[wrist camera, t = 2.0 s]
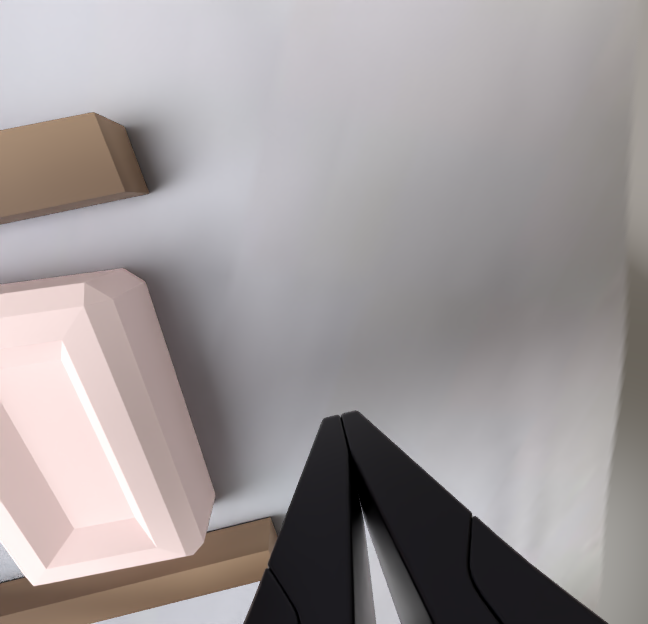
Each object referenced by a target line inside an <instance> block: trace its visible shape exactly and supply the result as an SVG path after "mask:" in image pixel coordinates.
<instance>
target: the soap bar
mask: <svg viewBox="0 0 648 624" xmlns="http://www.w3.org/2000/svg"><path fill="white" fill-rule="evenodd" d="M215 496H216V494H215V491H214V488H213V485H212V482H211V479H210V476H209V473H208V470H207V467H206V464H205V461H204V458H203V455H202V452H201V449H200V446H199V443H198V440H197V437H196V434H195V431H194V428H193V425H192V421H191V418H190V415H189V412H188V409H187V406H186V403H185V400H184V397H183V394H182V391H181V388H180V385H179V382H178V379H177V376H176V373H175V370H174V367H173V364H172V361H171V358H170V355H169V352H168V349H167V346H166V342H165V339H164V336H163V333H162V330H161V327H160V324H159V321H158V318H157V315H156V312H155V309H154V306H153V303H152V300H151V297H150V294H149V291H148V288H147V285H146V282H145V281H144V280H142V279H140V278H139V277H137V276H136V275H134V274H132V273H131V272H129V271H127V270H126V269H124V268H119V269H111V270H104V271H96V272H89V273H81V274H74V275H66V276H59V277H51V278H44V279H36V280H29V281H21V282H13V283H6V284H0V542H1V543H2V544H3V546H4V547H5V549H6V550H7V551H8V553H9V554H10V556H11V557H12V558H13V560H14V561H15V563H16V564H17V566H18V567H19V568H20V570H21V571H22V573H23V574H24V575H25V577H26V578H27V579H28V580H29V581H30V583H31V584H32V585H33V586H37V585H43V584H49V583H54V582H59V581H64V580H69V579H74V578H79V577H84V576H89V575H94V574H99V573H104V572H109V571H114V570H119V569H124V568H129V567H135V566H140V565H145V564H150V563H155V562H160V561H165V560H170V559H175V558H180V557H185V556H190V555H194V553H195V552H196V551H197V550H198V549H199V548H200V547H201V545H202V544H203V543H204V540H205V536H206V532H207V528H208V524H209V520H210V516H211V512H212V508H213V504H214V500H215Z"/></svg>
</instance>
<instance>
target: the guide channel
mask: <svg viewBox="0 0 648 624" xmlns="http://www.w3.org/2000/svg"><path fill="white" fill-rule="evenodd" d="M145 194H149V191H148V188H147V186H146V183H145V180H144V178H143V175H142V172H141V170H140V167H139V164H138V162H137V159H136V156H135V153H134V151H133V148H132V145H131V143H130V140H129V137H128V135H127V132H126V129H125V127H124V126H122V125H120V124H118V123H116V122H113V121H111V120H109V119H107V118H105V117H103V116H101V115H99V114H97V113H94V112H92V113H86V114H81V115H76V116H71V117H66V118H61V119H56V120H51V121H46V122H41V123H36V124H31V125H26V126H20V127H15V128H10V129H5V130H0V224H5V223H10V222H15V221H20V220H24V219H29V218H34V217H39V216H44V215H49V214H53V213H58V212H63V211H68V210H73V209H78V208H82V207H87V206H92V205H97V204H102V203H107V202H111V201H116V200H121V199H126V198H131V197H136V196H140V195H145ZM277 537H278V536H277V533H276V531H275V528H274V525H273V523H272V520H271V517H269V518H265V519H261V520H257V521H253V522H249V523H245V524H241V525H237V526H233V527H229V528H225V529H220V530H216V531H212V532H208V533H206V536H205V540H204V543H203V544H202V545H201V547H200V548H199V549H198V550H197V551H196V552H195V553H194V555H190V556H185V557H180V558H175V559H170V560H165V561H160V562H155V563H150V564H145V565H140V566H135V567H129V568H124V569H119V570H114V571H109V572H104V573H99V574H94V575H89V576H84V577H79V578H74V579H69V580H64V581H59V582H54V583H49V584H43V585H37V586H33V585H32V584H31V583H30V581H29V580H28V579H27V578H26V577H25V578H21V579H17V580H12V581H8V582H4V583H0V624H91V623H95V622H99V621H103V620H107V619H111V618H115V617H119V616H123V615H127V614H131V613H135V612H139V611H143V610H147V609H151V608H155V607H159V606H163V605H167V604H170V603H174V602H178V601H182V600H186V599H190V598H194V597H198V596H202V595H206V594H210V593H214V592H218V591H222V590H226V589H230V588H234V587H238V586H242V585H246V584H250V583H254V582H258V581H261V578H262V576H263V573H264V570H265V569H266V568H268V565H267V564H268V561H269V558H270V555H271V553H272V550H273V548H274V545H275V542H276V540H277Z"/></svg>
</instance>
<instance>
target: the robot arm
mask: <svg viewBox="0 0 648 624" xmlns="http://www.w3.org/2000/svg"><path fill="white" fill-rule="evenodd" d="M357 490H358V491H357ZM359 499H360V500H359ZM360 503H361V504H360ZM361 507H362V509H361ZM362 511H363V514H362ZM363 515H364V519H365V522H366V525H367V528H368V531H369V534H370V537H371V539H372V542H373V545H374V548H375V551H376V554H377V556H378V559H379V562H380V565H381V568H382V571H383V574H384V576H385V579H386V582H387V585H388V588H389V591H390V593H391V596H392V599H393V602H394V605H395V608H396V610H397V613H398V616H399V619H400V622H401V624H608V623H607V622H606V621H604V620H603V619H602V618H600V617H599V616H598V615H596V614H595V613H594V612H593V611H591V610H590V609H589V608H587V607H586V606H585V605H583V604H582V603H581V602H579V601H578V600H577V599H575V598H574V597H573V596H571V595H570V594H569V593H568V592H566V591H565V590H564V589H562V588H561V587H560V586H559V585H557V584H556V583H555V582H553V581H552V580H551V579H550V578H548V577H547V576H546V575H545V574H543V573H542V572H541V571H539V570H538V569H537V568H536V567H534V566H533V565H532V564H530V563H529V562H528V561H527V560H526V559H525V558H523V557H522V556H521V555H520V554H519V553H518V552H516V551H515V550H514V549H513V548H512V547H510V546H509V545H508V544H507V543H506V542H505V541H503V540H502V539H501V538H500V537H499V536H498V535H496V534H495V533H494V532H493V531H492V530H491V529H490V528H489V527H487V526H486V525H485V524H484V523H483V522H482V521H481V520H480V519H479V518H477V517H476V516H473V517H472V513H471V512H470V511H469V510H468V509H467V508H466V507H465V506H464V505H463V504H462V503H460V502H459V501H458V500H457V499H456V498H455V497H454V496H453V495H451V494H450V493H449V492H448V491H447V490H446V489H445V488H444V487H443V486H441V485H440V484H439V483H438V482H437V481H436V480H435V479H434V478H432V477H431V476H430V475H429V474H428V473H427V472H426V471H425V470H423V469H422V468H421V467H420V466H419V465H418V464H417V463H416V462H415V461H413V460H412V459H411V458H410V457H409V456H408V455H407V454H406V453H404V452H403V451H402V450H401V449H400V448H399V447H398V446H397V445H396V444H394V443H393V442H392V441H391V440H390V439H389V438H388V437H387V436H385V435H384V434H383V433H382V432H381V431H380V430H379V429H378V428H377V427H375V426H374V425H373V424H372V423H371V422H370V421H369V420H368V419H366V418H365V417H364V416H363V415H362V414H361V413H360V412H358V411H351V412H347V413H343V414H342V415H341V417H340V416H339V415H334V416H330V417H326V418H324V419H323V420H322V422H321V425H320V427H319V430H318V433H317V435H316V438H315V441H314V443H313V446H312V448H311V451H310V454H309V456H308V459H307V461H306V464H305V467H304V469H303V472H302V474H301V477H300V480H299V482H298V485H297V488H296V490H295V493H294V495H293V498H292V501H291V503H290V506H289V508H288V511H287V514H286V516H285V519H284V521H283V524H282V527H281V529H280V532H279V535H278V537H277V540H276V542H275V545H274V548H273V550H272V553H271V555H270V558H269V561H268V564H267V565H268V568H266V569H265V570H264V573H263V576H262V578H261V581H260V584H259V586H258V589H257V591H256V594H255V597H254V599H253V602H252V604H251V606H250V609H249V611H248V614H247V616H246V619H245V621H244V623H243V624H376V618H375V609H374V601H373V593H372V584H371V576H370V567H369V559H368V551H367V542H366V534H365V526H364V520H363Z"/></svg>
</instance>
